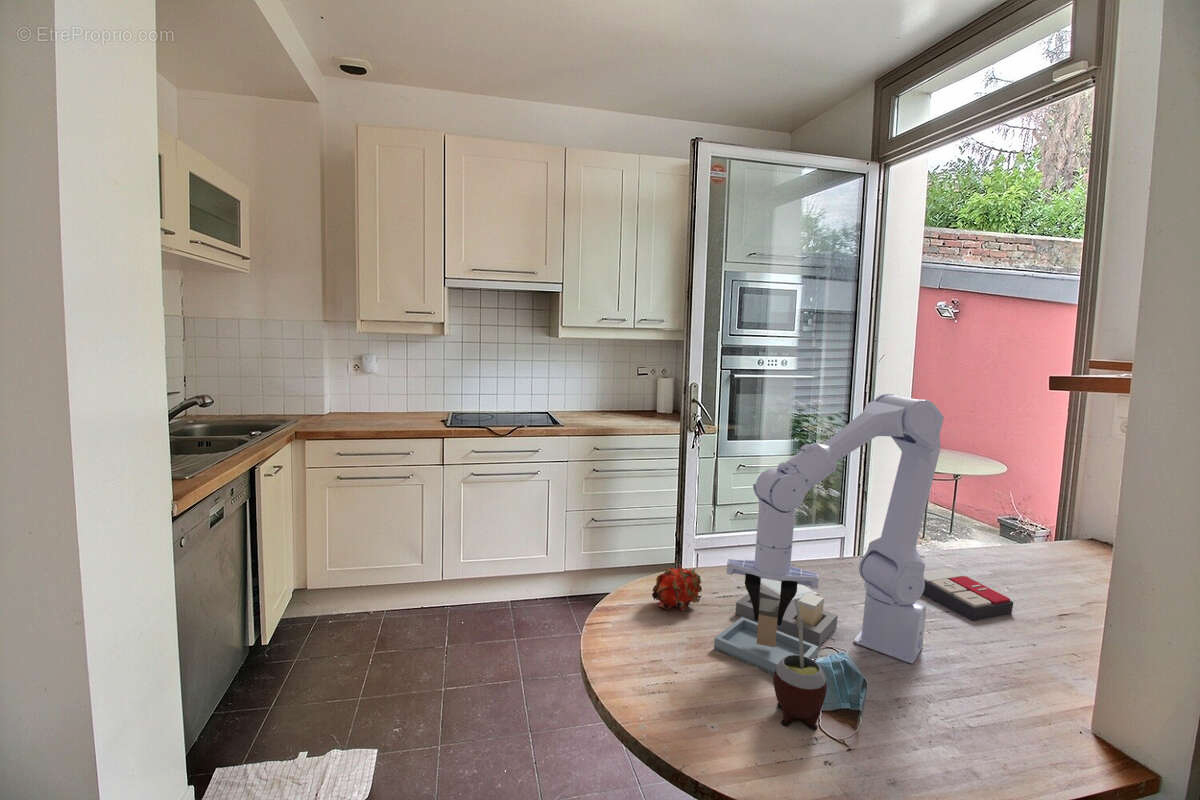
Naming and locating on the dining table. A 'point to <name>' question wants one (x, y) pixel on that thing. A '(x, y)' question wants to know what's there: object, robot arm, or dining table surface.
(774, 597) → the block
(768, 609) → the block
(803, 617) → the block
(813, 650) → the parts tray
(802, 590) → the hard drive
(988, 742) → the dining table surface
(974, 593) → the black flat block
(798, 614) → the mate gourd
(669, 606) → the dragon fruit
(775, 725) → the dining table surface
